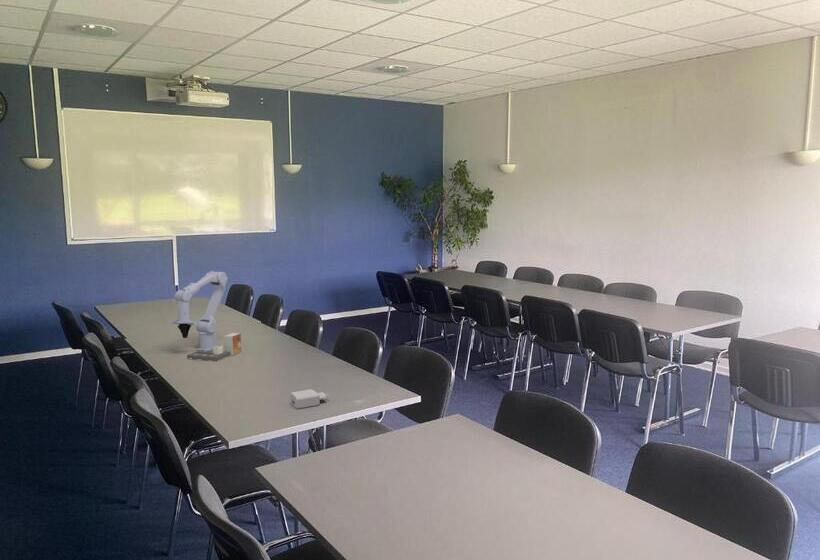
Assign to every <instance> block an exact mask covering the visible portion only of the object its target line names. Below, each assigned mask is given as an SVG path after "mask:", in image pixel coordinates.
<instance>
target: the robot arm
mask: <svg viewBox="0 0 820 560" xmlns="http://www.w3.org/2000/svg"><path fill="white" fill-rule="evenodd" d="M228 279H229V278H228V276H227V273H226V272H224V271H212V270H211V271H208V272H207V273H206V274H205V275H204V276H203V277H202V278H200V279H199V280H198V281H196V283H195V282H190V283H188V285H187V286H185V287H182V289H179V290H177V291H176V292H175V294H174V296H173V297H174V299H175V301H176V304H177V316H178V317H177V318H178V319H173V320H171V324H172V325H177V328H178V329H179V330H180V333H181V336H182V338H183V339H186V338H188V337H189V336H188V335H189V332H190V330H191V327H192V326H195V329H196V331H197V332H198V334H199V347H198V348H197V349H196V351H199V350H213V348H214V347H216V346H218V336H217V333H216V329H217V320H216V319H215V318H216V315H217V312H218V309H219V306H220V304H221V302H222V299H223V296H224V294H225V291H226V284H227V282H228ZM207 284H210V285H211V287H212V288H213V292H212V294H211V297H210V300H209V302H208V305H207V308H206V311H205V313H204V315H203V316H201V317H200V318H199V319H198V321H197V320H192V319H190V318H191V317H190V301H191V299H192V297H193V296H194V295H196V294H197V293H199V292H200V289H201V288H203V287H204V286H207Z"/></svg>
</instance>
